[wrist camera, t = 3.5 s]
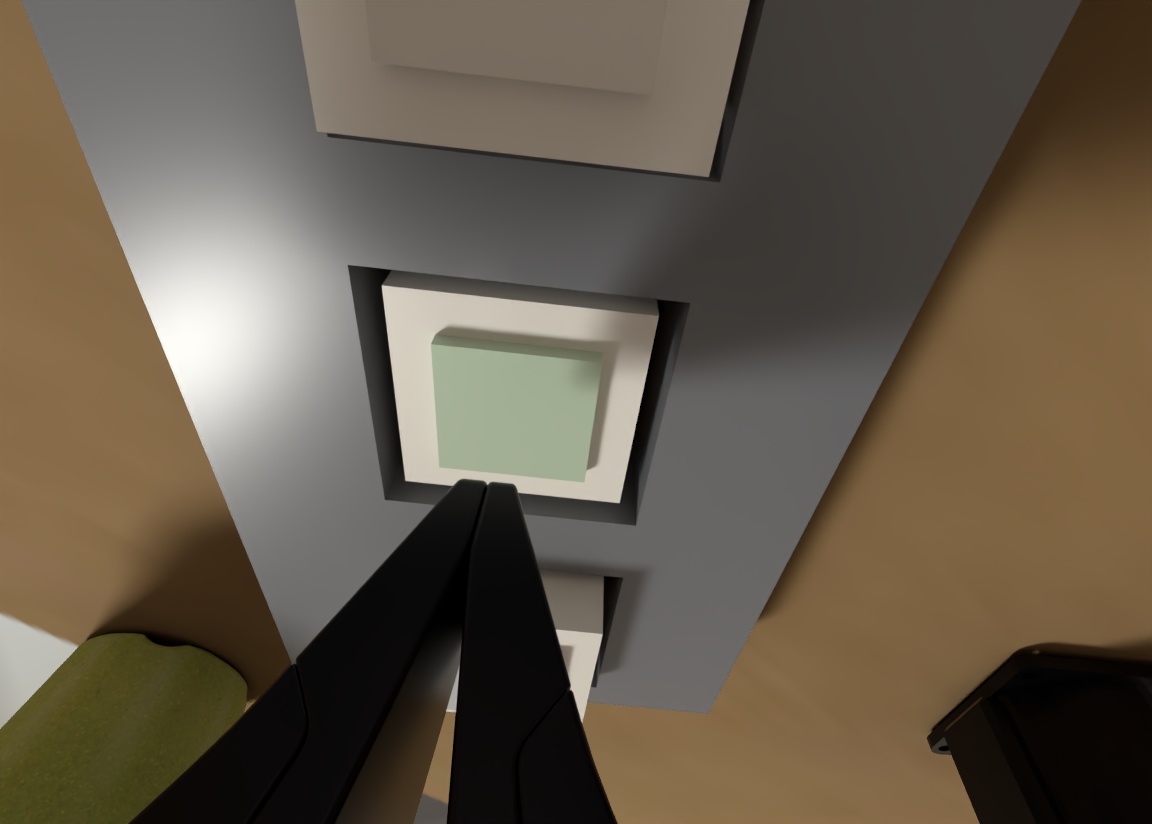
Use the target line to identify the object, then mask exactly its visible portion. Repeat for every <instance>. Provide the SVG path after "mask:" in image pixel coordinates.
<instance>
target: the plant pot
mask: <svg viewBox="0 0 1152 824" xmlns="http://www.w3.org/2000/svg"><path fill="white" fill-rule="evenodd" d="M246 701H247V684H246V682H245V681H244V679H243V678H242V677H241V675H240V674H239V673H238V672H237V671H235V670H234V669H233V668H232V667H231V666H229V665H228V664H226V663H225V662H223V661H222V660H220V659H219V658H217V657H215V656H214V655H213V654H211V653H210V652H207V651H205V650H203V649H201V648H196V647H193V646H190V645H183V646H175V647H167V646H161V645H158V644H155V643H153V642H152V641H150V640H149V639H148V638H147V637H146V636H145V635H143V634H136V633H114V634H106V635H101V636H97V637H94V638H92V639H89V640H87V641H86V642H84V643H82V644H81V645H80V646H79V647H78V648H77V649H76V650H75V651H74V652H73V654H72V655H71V656H70V657H69V658H68V659H67V660H66V661H65V662H64V663H63V664H62V665H61V666H60V667H59V668H58V669H57V670H56V671H55V672H54V673H53V674H52V676H51V677H50V678H49V679H48V680H47V681H46V682H45V683H44V684H43V685H42V686H41V687H40V688H39V689H38V690H37V691H36V692H35V693H34V694H33V695H32V697H31V698H30V699H29V700H28V701H27V702H26V703H25V704H24V705H23V706H22V707H21V708H20V709H19V710H18V711H17V712H16V713H15V715H13V717H11V719H10V720H9V721H8V722H7V723H6V724H5V725H4V726H3V727H2V728H1V729H0V824H128V823H129V822H130V821H131V820H132V819H133V818H134V817H135V816H136V815H137V814H138V813H140V812H141V811H142V810H143V809H144V808H145V807H146V806H147V805H148V804H149V803H150V802H152V801H153V800H154V799H155V798H156V797H157V796H158V795H159V794H160V793H161V792H162V791H163V790H165V789H166V788H167V787H168V786H169V785H170V784H171V783H172V782H173V781H174V780H175V779H177V778H178V777H179V776H180V775H181V774H182V773H183V772H184V771H185V770H186V769H187V768H188V767H190V766H191V765H192V764H193V763H194V762H195V761H196V760H197V759H198V758H199V757H200V756H201V755H202V754H203V753H204V752H205V751H206V750H207V749H208V748H209V747H211V746H212V745H213V744H214V743H215V742H216V741H217V740H218V739H219V738H220V737H221V736H222V735H223V734H224V733H225V732H226V731H227V730H228V729H229V728H231V726H232V725H233V724H234V723H235V722H236V721H237V720H238V719H239V718H240V717H241V716H242V715H243V714H244V711H245V707H246Z"/></svg>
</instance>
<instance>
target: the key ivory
mask: <svg viewBox="0 0 1152 824" xmlns="http://www.w3.org/2000/svg"><path fill="white" fill-rule="evenodd" d="M749 2H750V0H295V5H296V11H297V17H298V23H299V29H300V35H301V41H302V47H303V52H304V58H305V64H306V70H307V76H308V82H309V88H310V94H311V100H312V106H313V112H314V118H315V124H316V130H317V132H325V133H334V134H342V135H351V136H360V137H368V138H377V139H385V140H394V141H403V142H411V143H420V144H429V145H437V146H446V147H454V148H463V149H472V150H480V151H489V152H498V153H506V154H515V155H523V156H532V157H541V158H549V159H558V160H566V161H575V162H584V163H592V164H601V165H610V166H618V167H627V168H635V169H644V170H653V171H661V172H670V173H679V174H687V175H696V176H704V177H709V174H710V170H711V166H712V161H713V157H714V153H715V148H716V144H717V140H718V135H719V131H720V127H721V123H722V118H723V114H724V110H725V105H726V101H727V97H728V92H729V88H730V84H731V79H732V75H733V71H734V67H735V62H736V58H737V54H738V49H739V45H740V41H741V36H742V32H743V28H744V23H745V19H746V15H747V10H748V6H749Z"/></svg>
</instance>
